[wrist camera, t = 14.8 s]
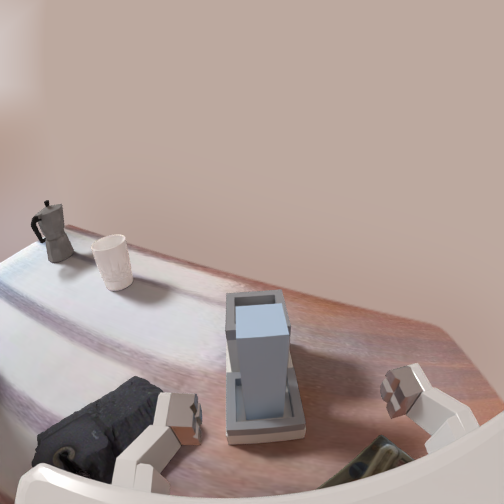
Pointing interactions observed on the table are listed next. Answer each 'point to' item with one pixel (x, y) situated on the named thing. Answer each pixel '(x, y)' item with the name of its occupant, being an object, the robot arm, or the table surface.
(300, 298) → the table surface
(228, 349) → the stepped base with tray
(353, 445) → the table surface
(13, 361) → the table surface
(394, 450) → the beverage carton
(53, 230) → the coffeepot
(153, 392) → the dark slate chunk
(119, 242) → the white cup
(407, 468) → the robot arm
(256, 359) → the plug
